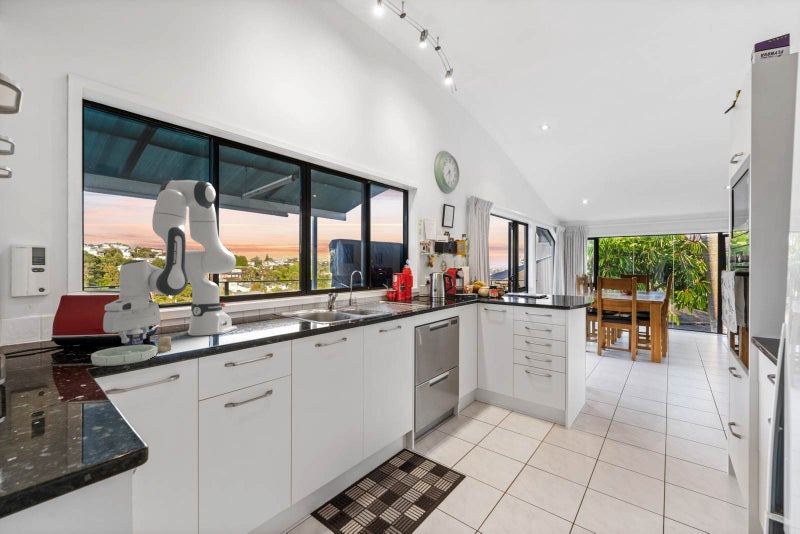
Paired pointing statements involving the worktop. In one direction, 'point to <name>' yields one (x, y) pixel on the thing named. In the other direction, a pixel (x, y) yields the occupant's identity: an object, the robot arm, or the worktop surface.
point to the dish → (123, 355)
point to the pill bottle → (135, 336)
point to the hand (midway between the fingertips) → (134, 340)
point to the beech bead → (164, 344)
